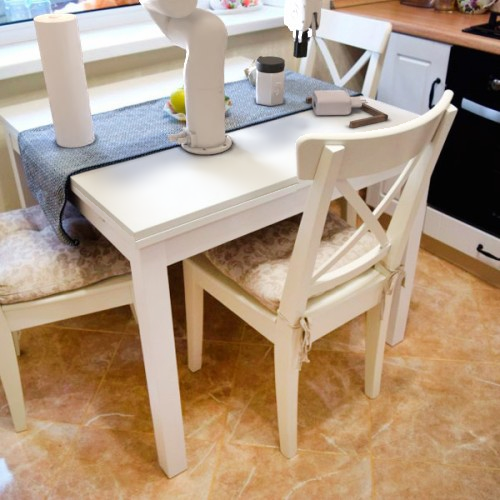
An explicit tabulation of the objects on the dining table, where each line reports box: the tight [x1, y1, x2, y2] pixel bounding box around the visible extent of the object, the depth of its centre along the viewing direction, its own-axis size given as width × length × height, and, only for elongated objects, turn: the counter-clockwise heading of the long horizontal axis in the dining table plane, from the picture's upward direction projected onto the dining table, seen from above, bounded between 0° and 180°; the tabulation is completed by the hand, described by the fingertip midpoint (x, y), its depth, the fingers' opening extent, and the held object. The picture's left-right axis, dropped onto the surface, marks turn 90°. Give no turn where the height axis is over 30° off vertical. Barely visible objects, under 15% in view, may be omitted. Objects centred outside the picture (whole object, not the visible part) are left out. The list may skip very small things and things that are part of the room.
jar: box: [255, 55, 286, 107], centre depth 171 cm, size 9×8×12 cm
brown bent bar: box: [305, 95, 389, 129], centre depth 167 cm, size 12×22×2 cm, turn 29°
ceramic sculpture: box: [243, 55, 263, 88], centre depth 186 cm, size 11×9×15 cm
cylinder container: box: [33, 12, 96, 149], centre depth 141 cm, size 9×9×30 cm
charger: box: [311, 89, 369, 116], centre depth 167 cm, size 5×9×15 cm
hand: (300, 56), depth 151 cm, fingers closed
